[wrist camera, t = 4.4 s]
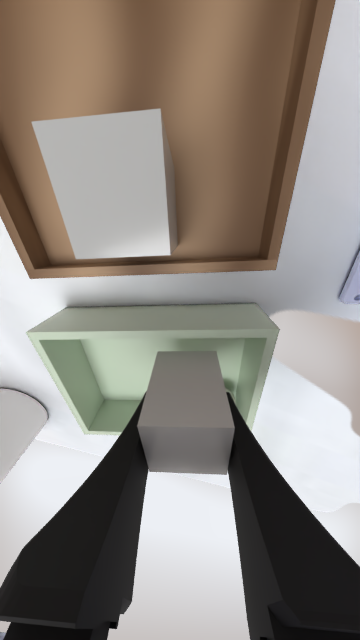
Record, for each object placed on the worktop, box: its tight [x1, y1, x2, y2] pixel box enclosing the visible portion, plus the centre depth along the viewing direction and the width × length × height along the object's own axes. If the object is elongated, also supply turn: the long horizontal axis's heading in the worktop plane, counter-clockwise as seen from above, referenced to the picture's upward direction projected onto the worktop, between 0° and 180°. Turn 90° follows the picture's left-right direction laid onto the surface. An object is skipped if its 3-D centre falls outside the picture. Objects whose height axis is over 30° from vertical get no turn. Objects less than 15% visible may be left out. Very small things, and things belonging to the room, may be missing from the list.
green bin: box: [26, 303, 280, 435], centre depth 15 cm, size 16×12×4 cm
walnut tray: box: [0, 0, 335, 279], centre depth 9 cm, size 16×12×2 cm
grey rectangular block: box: [137, 351, 235, 475], centre depth 10 cm, size 4×4×5 cm
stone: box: [32, 109, 178, 259], centre depth 8 cm, size 4×4×5 cm
